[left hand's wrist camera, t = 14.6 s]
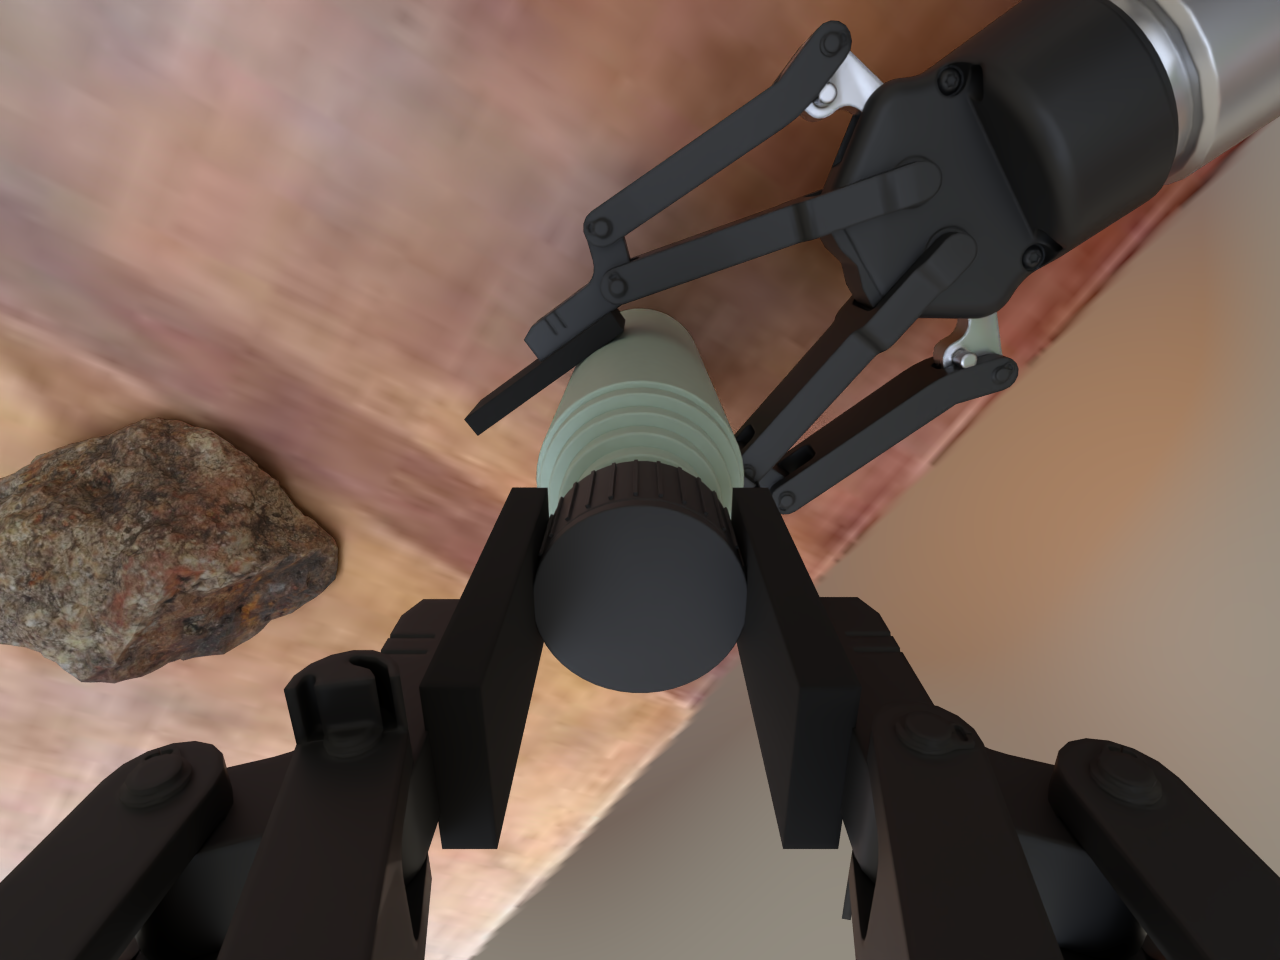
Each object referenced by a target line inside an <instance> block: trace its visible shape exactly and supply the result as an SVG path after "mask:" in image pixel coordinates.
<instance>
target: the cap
mask: <svg viewBox="0 0 1280 960" xmlns="http://www.w3.org/2000/svg"><path fill="white" fill-rule="evenodd" d="M538 556H539V557H540V561H539V564H538V568H537V571H536V575H535V579H534V583H533V592H534V608H535V622H536V625H537V628H538V631H539V633H540V635H541V637H542V639H543V641H544V642H545V644H546V646H547V647H548V648H549V650H550V651H551V653H552V654H553V655H554V656H555V657H556V658H557V659H558V660H559V661H560V662H561V663H562V664H563V665H564V666H565V667H566V668H568V669H569V670H570V671H571V672H573V673H574V674H576V675H578V676H579V677H581V678H583V679H585V680H587V681H589V682H591V683H593V684H595V685H598V686H601V687H604V688H607V689H612V690H616V691H621V692H630V693H650V692H660V691H665V690H669V689H674V688H677V687H680V686H683V685H685V684H688V683H690V682H692V681H694V680H696V679H698V678H700V677H701V676H703V675H705V674H706V673H708V672H709V671H711V670H712V669H713V668H714V667H716V666H717V665H718V664H719V663H720V662H721V661H722V660H723V659H724V658H725V657H726V656H727V655H728V654H729V652H730V651H731V650H732V648H733V647H734V646H735V644H736V642H737V640H738V638H739V637H740V635H741V633H742V630H743V627H744V625H745V615H746V599H747V580H746V576H745V572H744V563H743V559H742V556H741V553H740V549H739V546H738V542H737V539H736V535H735V532H734V529H733V525H732V522H731V519H730V515H729V512H728V509H727V507H725V508H724V507H723V506H722V504H721V502H720V500H719V499H718V497H717V493H716V492H715V491H711V490H710V489H709V488H708V487H707V486H706V485H705V484H704V483H703V482H702V481H701V478H699V477H697V478H696V477H695V476H693V475H691V474H689V473H688V472H686V471H684V470H682V468H681V467H678V468H677V467H674V466H671V465H667V464H664V463H661V461H656V462H652V461H638V459H637V460H634V461H629V462H621V463H617V464H616V462H615V463H612V465H609V466H607V467H604V468H602V469H599V470H597V471H595V470H593V471H591V474H589V475H588V476H586V477H585V478H583V479H582V480H581V481H579V482H578V483H577V482H575V483H574V484H573V487H572V488H571V489H570V490H569V491H568V492H567V494H566V495H565V496H564V497H562V496H561V498H560V499H559V502H558V506H557V508H556V510H555V513H554V515H553V514H551V515H550V517H549V521H548V524H547V527H546V531H545V534H544V537H543V541H542V544H541V547H540V551H539V554H538Z"/></svg>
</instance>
